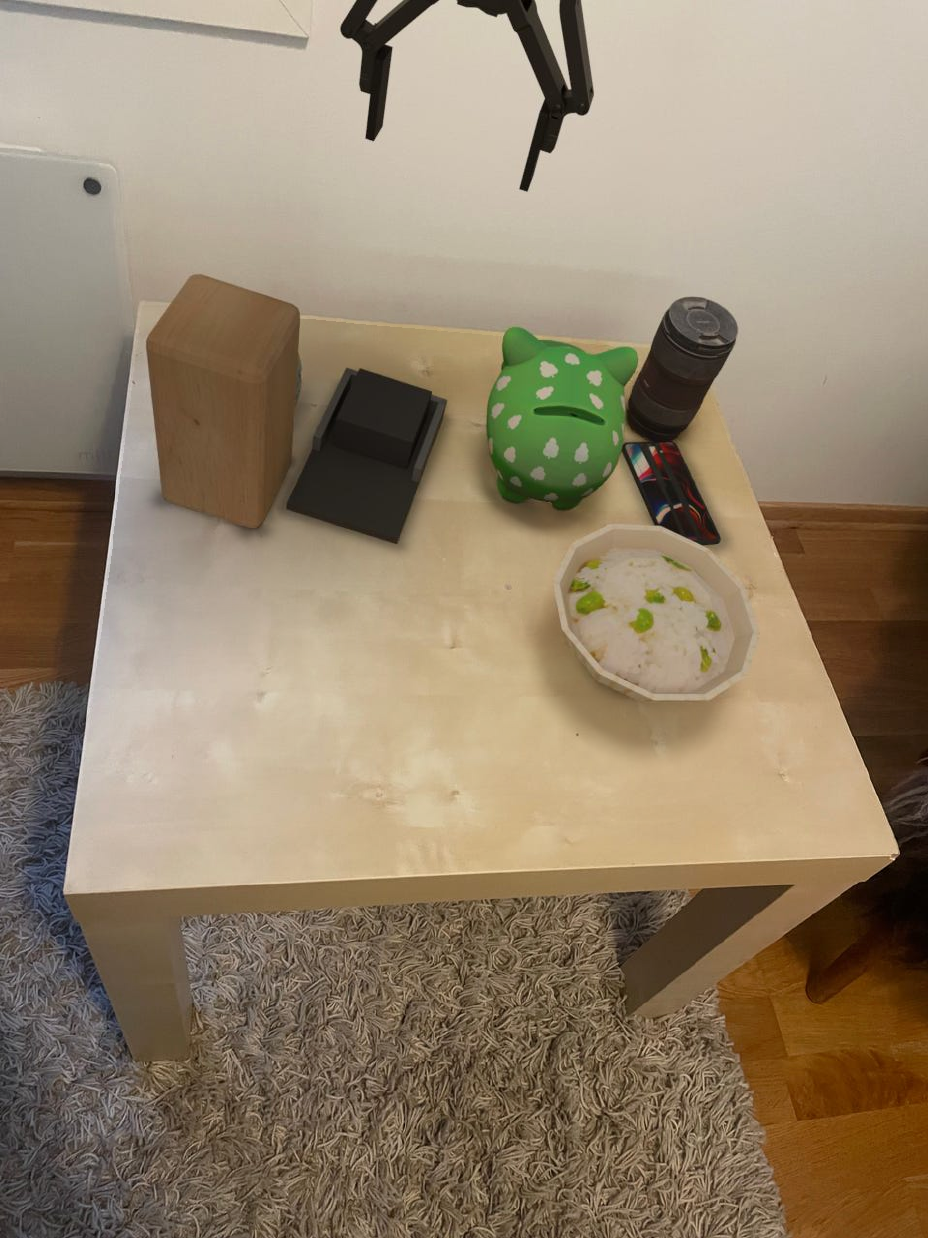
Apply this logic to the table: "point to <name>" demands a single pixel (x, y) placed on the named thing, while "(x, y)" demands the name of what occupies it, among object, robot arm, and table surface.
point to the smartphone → (670, 490)
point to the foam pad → (382, 418)
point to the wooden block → (224, 398)
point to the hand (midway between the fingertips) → (450, 157)
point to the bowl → (654, 614)
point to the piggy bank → (556, 418)
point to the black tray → (361, 476)
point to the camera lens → (680, 367)
